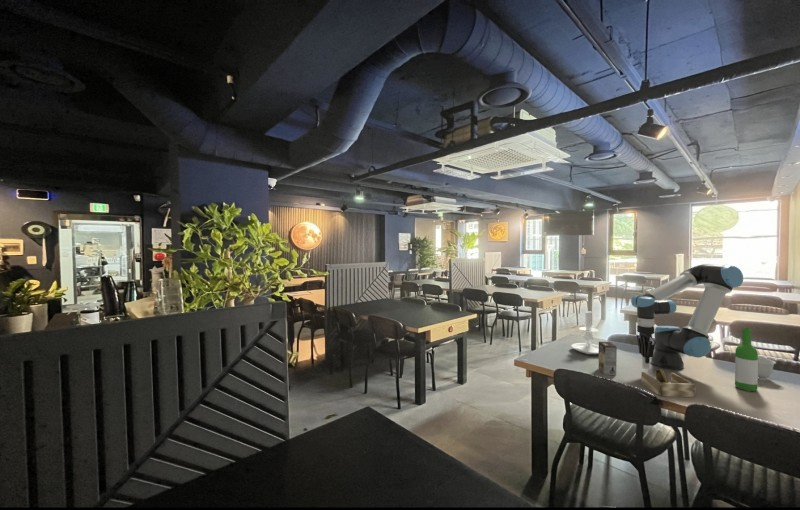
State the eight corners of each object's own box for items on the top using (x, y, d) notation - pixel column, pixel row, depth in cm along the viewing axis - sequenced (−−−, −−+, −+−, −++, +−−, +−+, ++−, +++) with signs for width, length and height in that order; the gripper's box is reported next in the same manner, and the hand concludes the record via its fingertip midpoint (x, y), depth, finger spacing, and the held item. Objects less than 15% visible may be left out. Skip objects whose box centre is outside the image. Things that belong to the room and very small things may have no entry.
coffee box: (597, 368, 191) (598, 341, 191) (610, 369, 190) (610, 341, 190) (604, 374, 182) (604, 346, 182) (617, 375, 181) (617, 346, 181)
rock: (651, 376, 174) (644, 378, 168) (664, 366, 170) (657, 367, 164) (671, 394, 166) (664, 397, 161) (685, 384, 162) (678, 387, 157)
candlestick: (569, 356, 213) (569, 313, 212) (572, 345, 234) (572, 306, 233) (606, 361, 202) (606, 316, 201) (606, 350, 222) (607, 309, 222)
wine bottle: (756, 393, 157) (757, 331, 156) (733, 387, 163) (734, 328, 162) (758, 389, 162) (759, 328, 161) (736, 383, 168) (737, 325, 167)
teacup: (775, 376, 176) (775, 358, 175) (775, 384, 166) (776, 365, 166) (743, 370, 185) (743, 352, 185) (741, 377, 175) (741, 359, 175)
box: (673, 384, 169) (673, 372, 169) (695, 397, 155) (695, 384, 154) (641, 383, 170) (641, 372, 170) (660, 396, 156) (660, 383, 156)
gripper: (631, 322, 185) (631, 363, 186) (646, 328, 172) (646, 372, 173) (645, 322, 185) (645, 363, 185) (661, 328, 172) (661, 372, 172)
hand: (645, 368), depth 179 cm, fingers closed
